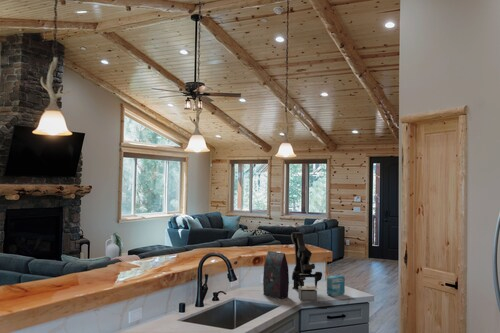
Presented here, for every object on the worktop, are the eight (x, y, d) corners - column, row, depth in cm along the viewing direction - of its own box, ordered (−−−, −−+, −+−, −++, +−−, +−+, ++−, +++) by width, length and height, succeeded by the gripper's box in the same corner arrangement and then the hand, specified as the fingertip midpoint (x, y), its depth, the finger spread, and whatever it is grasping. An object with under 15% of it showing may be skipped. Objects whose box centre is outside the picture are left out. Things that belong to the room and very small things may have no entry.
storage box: (298, 297, 283) (298, 288, 284) (314, 297, 284) (314, 288, 284) (300, 301, 275) (301, 291, 276) (316, 301, 276) (316, 291, 276)
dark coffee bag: (271, 292, 297) (272, 250, 298) (289, 297, 284) (289, 253, 286) (262, 294, 291) (263, 251, 293) (280, 299, 279) (280, 254, 280)
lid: (298, 287, 284) (298, 286, 284) (314, 287, 284) (314, 286, 285) (300, 289, 275) (300, 287, 276) (317, 289, 276) (317, 287, 276)
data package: (331, 296, 289) (331, 277, 289) (326, 295, 292) (326, 276, 293) (344, 294, 295) (344, 276, 296) (339, 293, 299) (339, 274, 300)
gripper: (292, 258, 282) (295, 280, 271) (321, 259, 284) (325, 280, 272) (290, 269, 290) (293, 290, 278) (318, 269, 291) (322, 290, 280)
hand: (308, 287), depth 277 cm, fingers open, 9 cm apart
